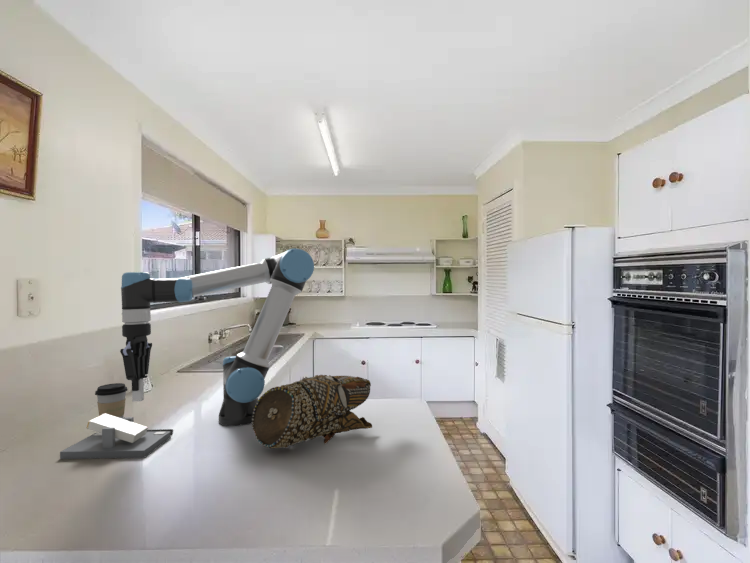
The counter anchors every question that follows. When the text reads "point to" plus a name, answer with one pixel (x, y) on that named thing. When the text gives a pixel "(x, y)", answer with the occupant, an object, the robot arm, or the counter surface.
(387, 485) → the counter surface
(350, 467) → the counter surface
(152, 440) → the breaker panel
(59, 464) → the counter surface
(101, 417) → the plate
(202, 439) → the counter surface
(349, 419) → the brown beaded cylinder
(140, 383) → the robot arm
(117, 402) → the coffee cup
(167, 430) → the cords
